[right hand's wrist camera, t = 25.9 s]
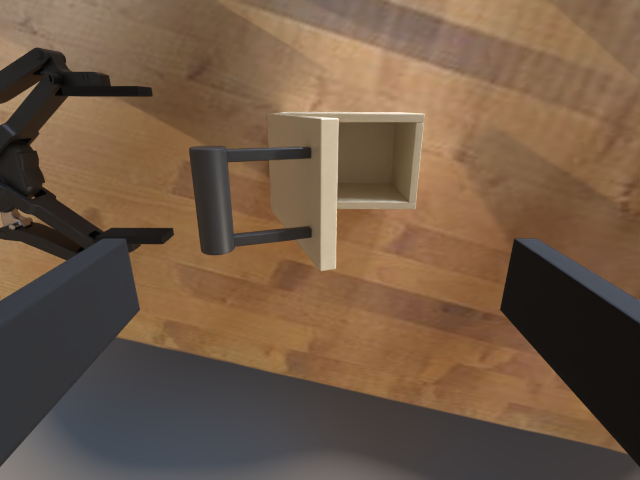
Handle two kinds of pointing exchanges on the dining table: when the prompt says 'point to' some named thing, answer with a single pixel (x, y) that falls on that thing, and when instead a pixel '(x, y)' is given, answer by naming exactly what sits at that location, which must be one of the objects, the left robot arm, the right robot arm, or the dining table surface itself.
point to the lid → (276, 188)
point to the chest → (376, 158)
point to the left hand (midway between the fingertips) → (158, 168)
